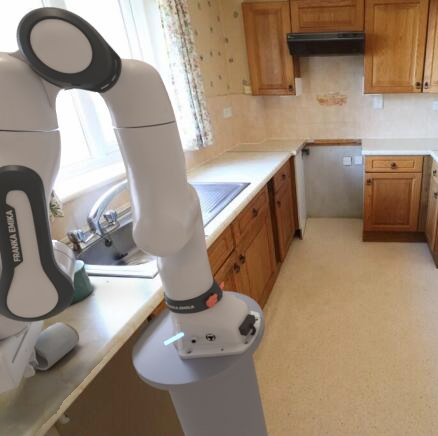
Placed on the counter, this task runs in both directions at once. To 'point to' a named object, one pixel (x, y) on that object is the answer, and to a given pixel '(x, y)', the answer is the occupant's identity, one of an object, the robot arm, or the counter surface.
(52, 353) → the ceramic mug
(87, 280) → the pot
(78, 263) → the pot lid
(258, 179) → the counter surface
